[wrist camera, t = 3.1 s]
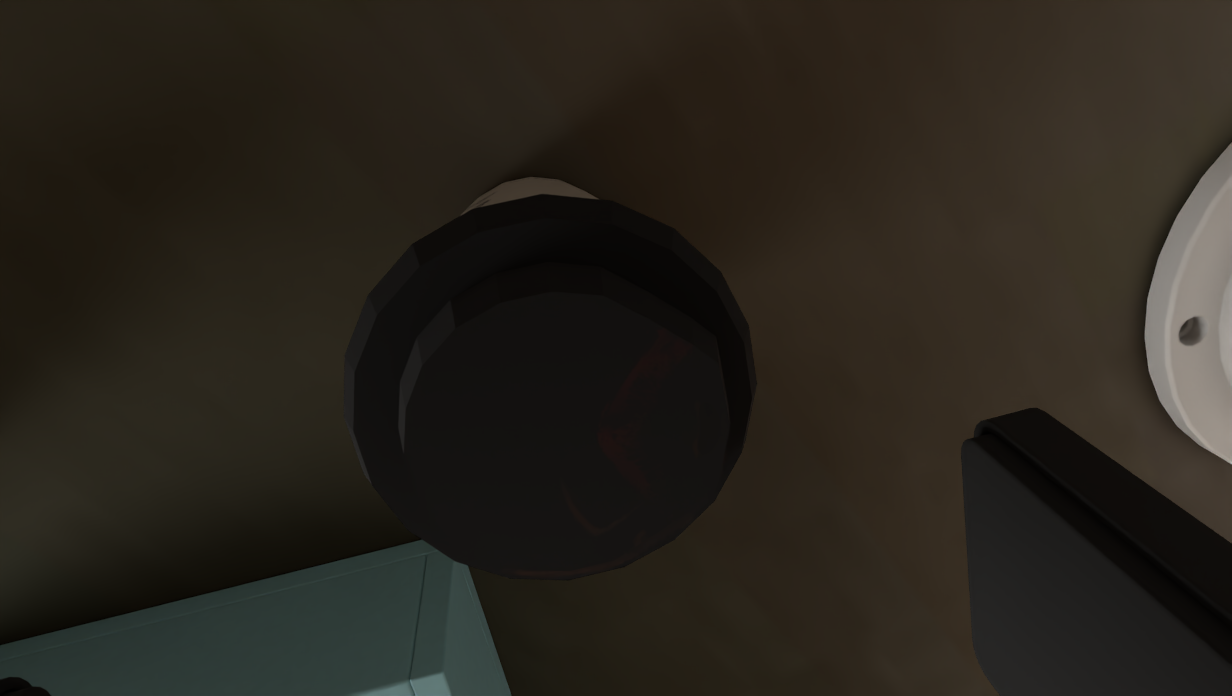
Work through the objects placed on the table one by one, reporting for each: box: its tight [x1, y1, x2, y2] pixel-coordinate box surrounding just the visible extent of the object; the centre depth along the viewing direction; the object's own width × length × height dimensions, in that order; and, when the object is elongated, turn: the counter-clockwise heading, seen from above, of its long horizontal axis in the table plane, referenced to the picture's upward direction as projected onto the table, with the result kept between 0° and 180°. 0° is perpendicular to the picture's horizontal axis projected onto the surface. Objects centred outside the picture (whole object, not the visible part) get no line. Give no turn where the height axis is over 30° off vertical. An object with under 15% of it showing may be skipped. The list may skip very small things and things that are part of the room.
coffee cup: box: [344, 177, 757, 580], centre depth 18 cm, size 7×7×10 cm
